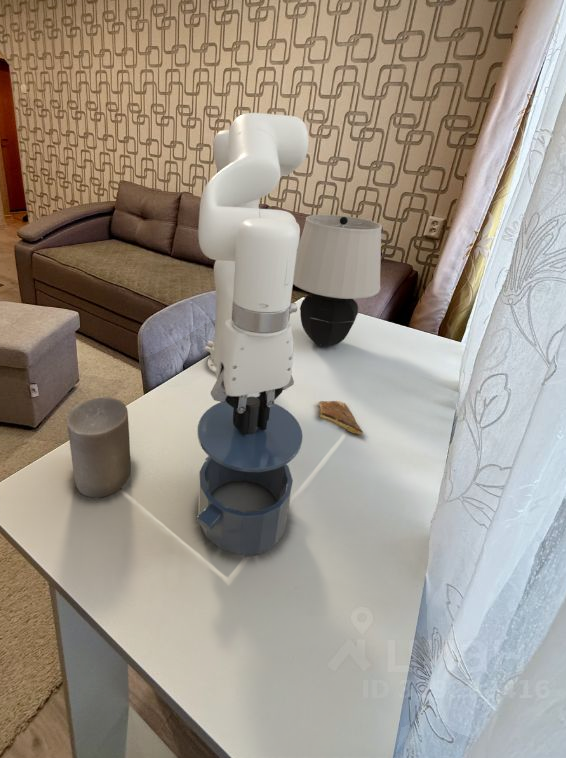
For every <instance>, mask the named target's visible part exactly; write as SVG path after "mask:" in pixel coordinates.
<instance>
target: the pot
mask: <svg viewBox="0 0 566 758" xmlns="http://www.w3.org/2000/svg"><path fill="white" fill-rule="evenodd" d="M198 474H199V477H198V482H199V483H198V506H197V507H198V509H197V510H198V515H197V516H196V523H198V524H199V526H200V528H201V529H202V532H203V533H204V535H205V537H206V538H207V540H208V541H210V543H212V544H214V545H215V546H216V547H217V548H219V549H220V550H222V551H225V552H229V553H232V554H235V555H240V556H242V555H244V557H254V556H257V555H261V554H263V553H265V552H267V551H269V550H271V549H273V548H274V547H275V545H277V543H278V542H279V541H280V540H281V538H282V537H283V535H284V533H285V531H286V527H287V520H288V515H289V508H290V501H291V495H292V488H293V481H294V480H293V477H292V473H291V470H290V466H289V465H288V463H287V464H286V465H284V466H282V467H279V468H277V469H274V470H270V471H264V472H244V471H239V470H234V469H231V468H228V467H226V466H223V465H221V464H219V463H218V462H216V461H214V460H213V459H212V458H210V457H209V456H208V455H207V457H206V458H205V459H204V461H203V463H202V465H201V467H200V470H199V473H198ZM238 481H240V482H241V481H245V482H247V481H248V482H250V483H254V484H258V485H260V486H262V487H264V488H265V489H266V490H267V491H269V492H271V494H272V495H273V496H274V498H275V499H276V500H277V502H276V503H274V504H273V505H270V506H268V507H266V508H263V509H262V510H252V511H241V510H238V509H234V508H230V507H226V506H225V505H224V504H223V503H221V502H220V501H218V500H217V499H215V498H214V497H213V496H212V493H213V492H214V491H216V489H218V487H220V486H223V485H226V484H227V483H230V482H238Z"/></svg>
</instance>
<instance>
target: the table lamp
mask: <svg viewBox="0 0 566 758" xmlns="http://www.w3.org/2000/svg"><path fill="white" fill-rule="evenodd" d="M382 230H383V226H382V225H381V223H378V222H376V221H373V220H370V219H365V218H361V217H356V216H355V217H354V216H347V215H338V214H312V215H308V216H306V217H305V222H304V227H303V230H302V233H301V235H300V239H299V245H298V248H297V253H296V262H295V270H294V278H293V285H294V286H295V287H297V288H298V289H300V290H302V291H305V292H308V294H307V295H306V296H305V297H304V299H302V301H301V303H300V307H299V313H300V322H301V325H302V329H303V331H304V332H305V334H306V335H307V336H308V337H309V338H310V340H311V341H312V342H313V343H315V344H316V345H317V346H320V347H324V348H327V347H334V346H336V345H338V344H340V343H342V342H343V341H344V340H345V339H346V338H347V336H348V334H349V333H350V331H351V329H352V327H353V325H354V323H355V321H356V319H357V317H358V314H359V306H358V303H357V301H356V300H358V299H360V300H361V299H367V298H370V297H374V296H376V295H377V294H379V293H380V291H381V262H382V261H381V259H382V258H381V257H382V256H381V255H382Z"/></svg>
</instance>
